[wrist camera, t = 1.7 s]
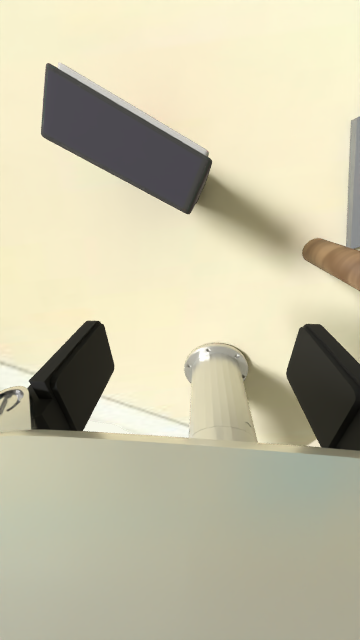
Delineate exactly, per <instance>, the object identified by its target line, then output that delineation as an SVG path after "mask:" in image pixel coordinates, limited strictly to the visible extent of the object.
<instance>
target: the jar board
mask: <svg viewBox="0 0 360 640" xmlns="http://www.w3.org/2000/svg"><path fill="white" fill-rule="evenodd" d="M346 247H349V248H352V249H354V248H357V247H360V117H358V118H356V119H354V120H352V121H351V136H350V162H349V187H348V213H347V238H346Z"/></svg>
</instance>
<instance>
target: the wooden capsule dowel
mask: <svg viewBox="0 0 360 640" xmlns="http://www.w3.org/2000/svg"><path fill="white" fill-rule="evenodd" d="M302 255H303V258H304V259H305V260H306V261H308V262H310V263H312V264H313V265H315V266H317V267H319V268H320V269H322V270H324V271H326V272H328V273H329V274H331V275H333V276H335V277H336V278H338V279H340V280H342V281H343V282H345V283H347V284H349V285H350V286H352V287H354V288H356V289H357V290H359V291H360V251H358V250H355V249H352V248H349V247H345V246H342V245H339V244H336V243H333V242H330V241H327V240H324V239H320V238H316V239H313V240H311V241H309V242H308V243H307V244H306V245H305V246H304V248H303V251H302Z"/></svg>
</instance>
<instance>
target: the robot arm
mask: <svg viewBox="0 0 360 640" xmlns="http://www.w3.org/2000/svg"><path fill="white" fill-rule="evenodd" d="M113 371H114V362H113V358H112V354H111V350H110V346H109V343H108V339H107V335H106V331H105V327H104V325H103V324H101V323H100V322H99V321H86V322H85V323H84V324H83V325H82V326H81V327H80V328H79V329H78V330H77V331H76V332H75V333H74V334H73V335H72V336H71V337H70V339H69V340H68V341H67V342H66V343H65V344H64V345H63V346H62V347H61V348H60V349H59V350H58V351H57V352H56V353H55V354H54V355H53V356H52V357H51V358H50V359H49V360H48V361H47V362H46V364H45V365H44V366H43V367H42V368H41V369H40V370H39V371H38V372H37V373H36V374H35V375H34V376H33V377H32V378H31V379H30V380H29V382H30V384H31V385H30V386H29V387H28V388H25V387H23V386H15V387H10V388H7V389H4V390H2V391H0V640H360V364H359V363H358V362H357V361H356V360H355V359H354V358H353V357H352V356H351V355H350V354H349V353H348V352H347V351H346V350H345V349H344V348H343V347H342V346H341V345H340V343H339V342H338V341H337V340H336V339H335V338H334V337H333V336H332V335H331V334H330V333H329V332H328V331H327V330H326V329H325V328H324V327H323V326H322V325H320V324H305V325H304V326H303V327H301V328H300V329H299V332H298V335H297V338H296V341H295V345H294V348H293V351H292V355H291V358H290V361H289V364H288V368H287V372H286V375H287V379H288V381H289V383H290V385H291V387H292V389H293V391H294V393H295V395H296V397H297V399H298V401H299V403H300V405H301V407H302V409H303V411H304V413H305V415H306V417H307V419H308V421H309V424H310V426H311V428H312V430H313V432H314V434H315V436H316V438H317V440H318V441H319V444H320V446H321V447H310V446H296V445H282V444H268V443H258V441H257V437H256V433H255V429H254V424H253V420H252V416H251V412H250V407H249V403H248V399H247V395H246V391H245V386H244V382H243V381H244V380H245V379H246V377H247V374H248V364H247V360H246V358H245V356H244V355H243V354H242V353H241V352H240V351H239V350H238V349H236V348H234V347H232V346H230V345H226V344H221V343H211V344H206V345H203V346H200V347H198V348H196V349H195V350H193V351H192V352H191V353H190V354H189V356H188V357H187V359H186V361H185V368H184V371H185V375H186V378H187V379H188V381H189V382H190V383H191V402H190V422H189V438H183V437H168V436H152V435H136V434H120V433H104V432H88V431H83V429H84V428H85V425H86V424H87V422H88V420H89V418H90V416H91V414H92V412H93V410H94V408H95V406H96V404H97V402H98V400H99V399H100V397H101V395H102V393H103V391H104V389H105V387H106V385H107V383H108V381H109V379H110V377H111V375H112V373H113Z"/></svg>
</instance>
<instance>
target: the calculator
mask: <svg viewBox="0 0 360 640" xmlns="http://www.w3.org/2000/svg"><path fill="white" fill-rule="evenodd" d="M41 135H42V136H43V137H44V138H46V139H47V140H49V141H51V142H53V143H55V144H57V145H59V146H61V147H62V148H64V149H66V150H68V151H70V152H72V153H74V154H75V155H77V156H79V157H81V158H83V159H85V160H87V161H89V162H90V163H92V164H94V165H96V166H98V167H100V168H102V169H103V170H105V171H107V172H109V173H111V174H113V175H115V176H117V177H118V178H120V179H122V180H124V181H126V182H128V183H130V184H132V185H133V186H135V187H137V188H139V189H141V190H143V191H145V192H146V193H148V194H150V195H152V196H154V197H156V198H158V199H160V200H161V201H163V202H165V203H167V204H169V205H171V206H173V207H175V208H176V209H178V210H180V211H182V212H184V213H186V214H190V213H191V211H192V209H193V207H194V205H195V204H196V203H197V201H198V199H199V196H200V194H201V192H202V190H203V187H204V185H205V183H206V180H207V177H208V174H209V171H210V168H211V165H212V160H211V159H210V158H209V157H208V155H209V152H208V151H207V150H206V149H204V148H203V147H201V146H200V145H198V144H196V143H195V142H193V141H191V140H190V139H188V138H186V137H185V136H183V135H181V134H180V133H178V132H176V131H174V130H173V129H171V128H169V127H168V126H166V125H164V124H163V123H161V122H159V121H158V120H156V119H154V118H153V117H151V116H149V115H148V114H146V113H144V112H143V111H141V110H139V109H138V108H136V107H134V106H133V105H131V104H129V103H128V102H126V101H124V100H123V99H121V98H119V97H117V96H116V95H114V94H112V93H111V92H109V91H107V90H106V89H104V88H102V87H101V86H99V85H97V84H96V83H94V82H92V81H91V80H89V79H87V78H86V77H84V76H82V75H81V74H79V73H77V72H76V71H74V70H72V69H71V68H69V67H67V66H65V65H64V64H62V63H58V68H57V67H55V66H53V65H51V64H49V63H47V64H46V72H45V85H44V98H43V112H42V126H41Z"/></svg>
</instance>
